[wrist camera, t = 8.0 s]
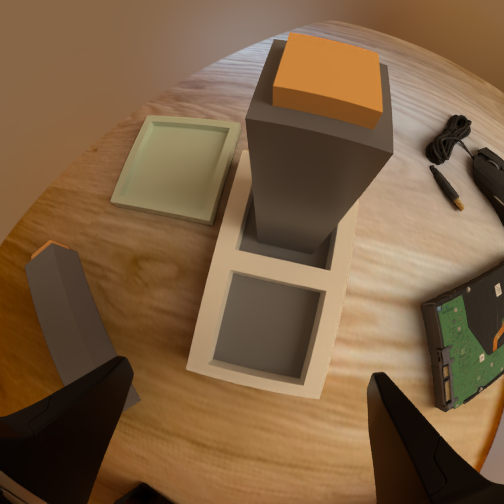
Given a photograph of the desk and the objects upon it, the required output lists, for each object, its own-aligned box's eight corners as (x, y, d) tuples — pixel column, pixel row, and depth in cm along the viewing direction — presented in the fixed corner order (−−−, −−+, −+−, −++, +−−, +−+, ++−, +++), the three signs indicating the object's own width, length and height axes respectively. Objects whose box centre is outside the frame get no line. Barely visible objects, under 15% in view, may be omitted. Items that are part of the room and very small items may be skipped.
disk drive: (507, 255, 20) (415, 305, 20) (523, 250, 17) (433, 303, 17) (521, 341, 18) (433, 409, 18) (537, 342, 15) (449, 418, 15)
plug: (311, 254, 20) (404, 137, 6) (258, 242, 20) (243, 98, 6) (320, 204, 21) (393, 50, 6) (269, 193, 21) (274, 22, 7)
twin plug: (142, 399, 19) (120, 413, 15) (109, 411, 19) (85, 425, 15) (76, 245, 22) (50, 234, 18) (50, 265, 22) (23, 257, 18)
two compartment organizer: (313, 389, 18) (319, 399, 16) (195, 362, 19) (185, 369, 17) (352, 189, 21) (361, 175, 19) (245, 165, 22) (242, 150, 20)
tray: (212, 226, 21) (209, 220, 20) (117, 206, 22) (110, 201, 21) (241, 131, 23) (239, 122, 22) (152, 123, 24) (147, 115, 22)
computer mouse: (496, 293, 19) (522, 289, 15) (405, 151, 23) (422, 129, 19) (531, 230, 20) (551, 221, 16) (455, 115, 24) (470, 97, 20)
